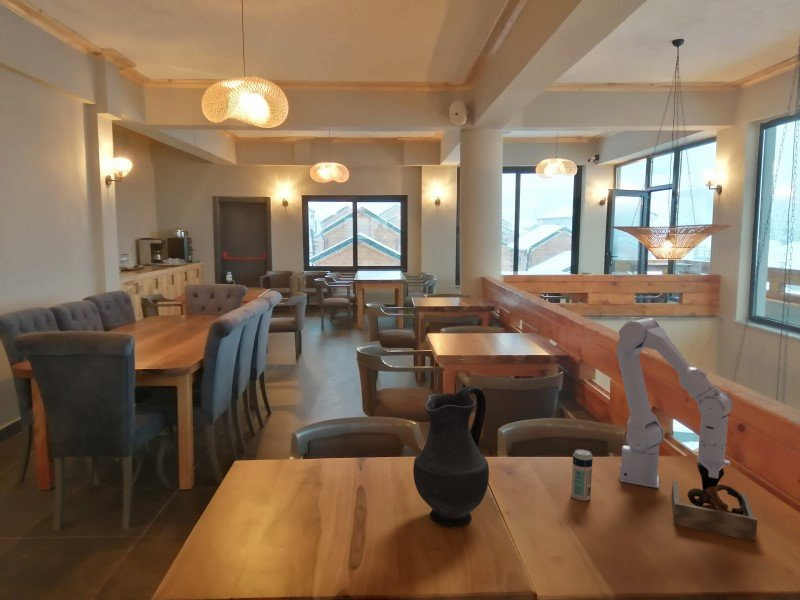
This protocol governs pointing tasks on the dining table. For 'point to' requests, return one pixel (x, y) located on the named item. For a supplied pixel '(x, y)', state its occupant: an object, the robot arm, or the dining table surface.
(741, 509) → the brown hollow ring part
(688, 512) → the box
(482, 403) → the pitcher
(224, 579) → the dining table surface
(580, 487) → the supplement bottle
